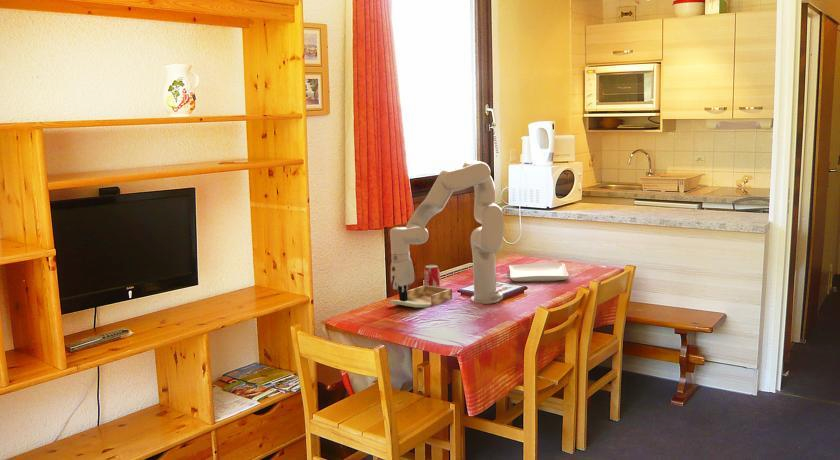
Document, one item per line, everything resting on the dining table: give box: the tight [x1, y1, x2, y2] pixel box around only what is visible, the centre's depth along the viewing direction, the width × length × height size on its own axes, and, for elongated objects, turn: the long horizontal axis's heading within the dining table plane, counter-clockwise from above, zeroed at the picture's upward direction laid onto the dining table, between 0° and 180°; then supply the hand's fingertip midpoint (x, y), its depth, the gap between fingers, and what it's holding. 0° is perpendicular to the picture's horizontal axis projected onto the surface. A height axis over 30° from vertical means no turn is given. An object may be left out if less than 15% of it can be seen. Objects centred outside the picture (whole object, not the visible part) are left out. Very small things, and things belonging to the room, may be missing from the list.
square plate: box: [508, 262, 570, 283], centre depth 368 cm, size 27×27×4 cm
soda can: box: [423, 264, 441, 287], centre depth 346 cm, size 7×7×12 cm
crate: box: [407, 284, 453, 307], centre depth 331 cm, size 13×15×5 cm
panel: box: [388, 299, 432, 308], centre depth 322 cm, size 1×14×11 cm
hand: (403, 300), depth 318 cm, fingers closed
